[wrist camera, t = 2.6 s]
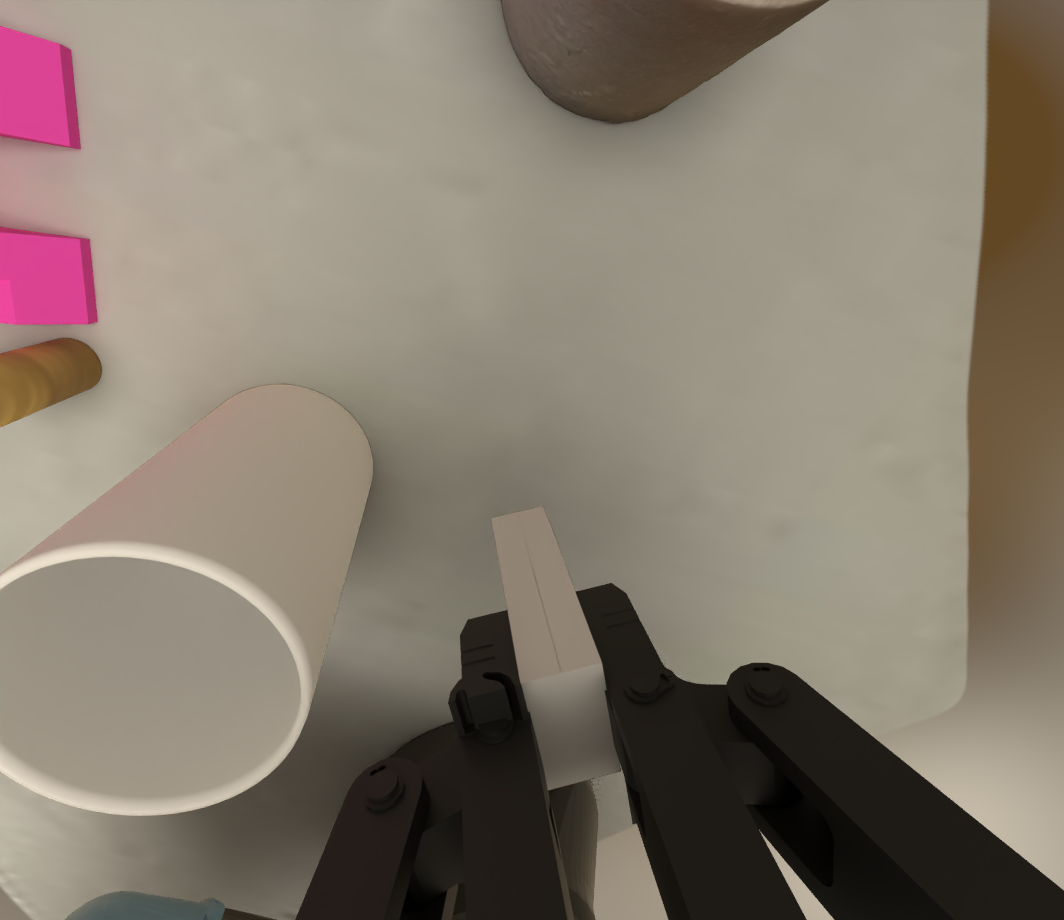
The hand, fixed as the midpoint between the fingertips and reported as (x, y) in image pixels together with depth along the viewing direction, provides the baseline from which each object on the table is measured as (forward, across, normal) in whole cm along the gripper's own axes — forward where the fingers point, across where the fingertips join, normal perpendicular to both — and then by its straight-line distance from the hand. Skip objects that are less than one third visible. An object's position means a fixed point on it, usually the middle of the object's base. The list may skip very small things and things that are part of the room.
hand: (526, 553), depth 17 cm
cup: (+14, +10, 0) cm, 18 cm away
